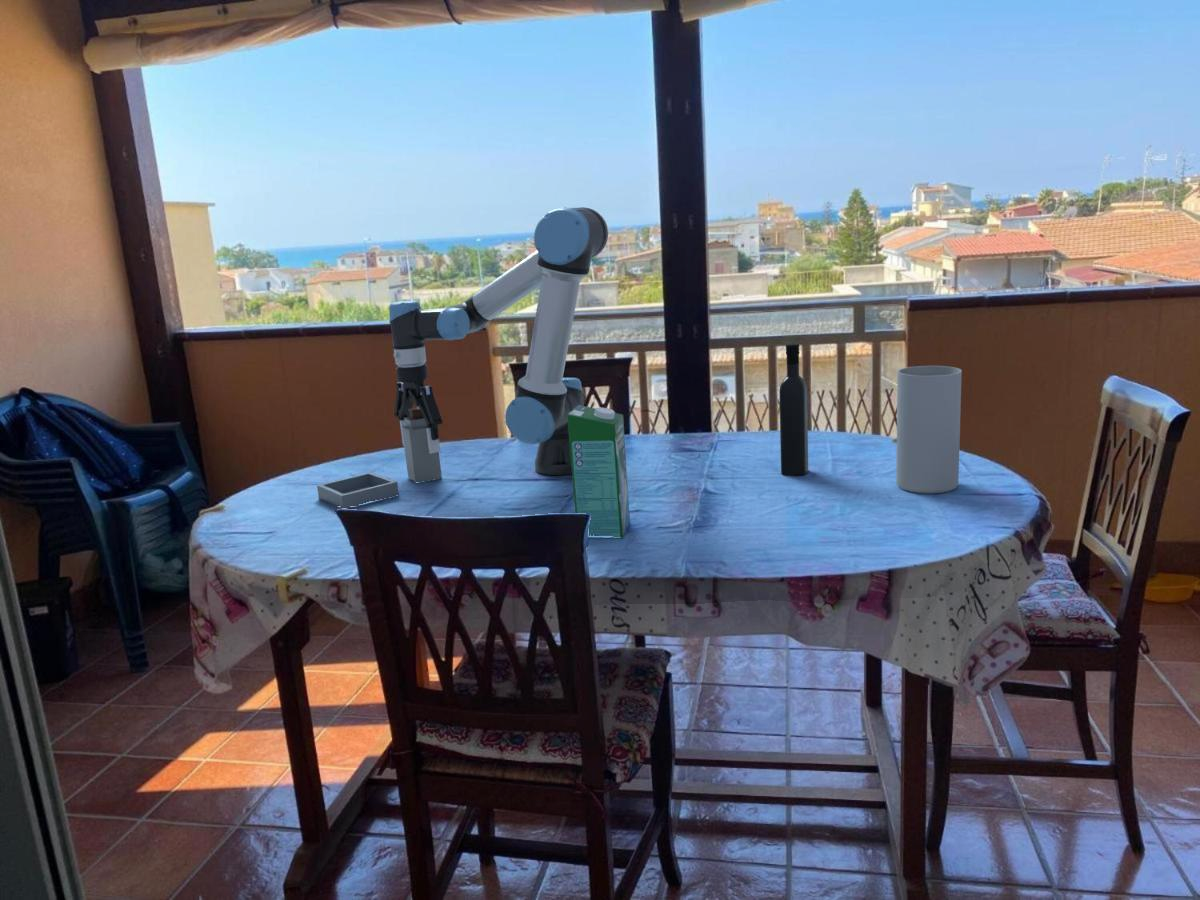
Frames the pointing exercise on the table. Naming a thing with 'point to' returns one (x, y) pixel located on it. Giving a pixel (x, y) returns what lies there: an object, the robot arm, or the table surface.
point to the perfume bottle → (419, 449)
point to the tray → (357, 490)
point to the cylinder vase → (928, 428)
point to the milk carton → (599, 469)
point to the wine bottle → (793, 417)
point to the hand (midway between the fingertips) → (421, 448)
